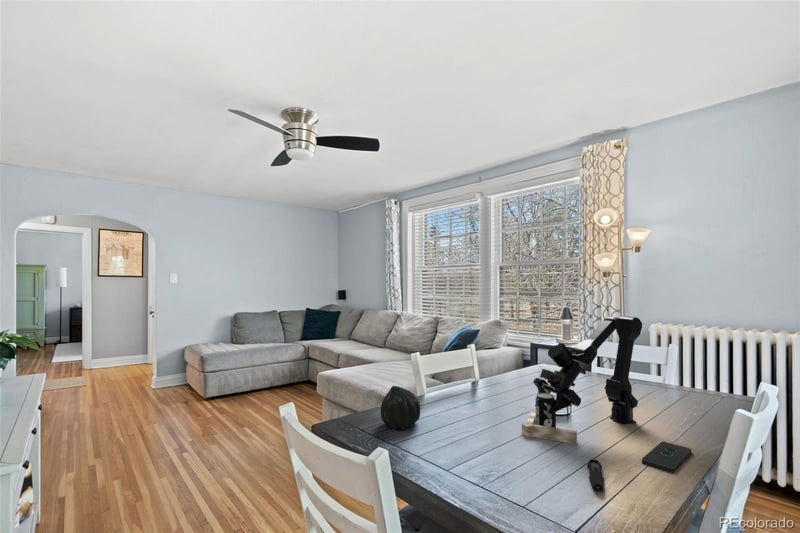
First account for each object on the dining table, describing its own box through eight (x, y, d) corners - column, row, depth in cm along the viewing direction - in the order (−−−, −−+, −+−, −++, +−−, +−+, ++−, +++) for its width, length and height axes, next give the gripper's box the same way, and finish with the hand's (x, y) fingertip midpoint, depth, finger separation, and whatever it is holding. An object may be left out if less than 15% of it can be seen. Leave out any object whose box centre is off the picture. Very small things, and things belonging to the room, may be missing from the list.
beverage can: (559, 430, 136) (559, 395, 137) (548, 435, 133) (547, 399, 133) (543, 424, 142) (543, 391, 142) (532, 428, 138) (531, 394, 139)
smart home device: (692, 448, 121) (674, 469, 108) (692, 454, 121) (674, 475, 108) (661, 440, 128) (640, 458, 114) (661, 445, 128) (640, 464, 114)
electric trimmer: (589, 494, 99) (589, 481, 99) (587, 466, 113) (586, 455, 113) (606, 497, 97) (606, 484, 97) (601, 469, 111) (601, 457, 111)
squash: (434, 411, 142) (413, 376, 149) (407, 424, 131) (385, 385, 138) (413, 430, 149) (393, 395, 156) (385, 443, 138) (365, 405, 145)
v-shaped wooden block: (534, 419, 149) (534, 410, 149) (580, 443, 128) (580, 432, 128) (505, 423, 145) (505, 414, 145) (547, 449, 124) (547, 437, 124)
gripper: (536, 355, 148) (512, 388, 144) (573, 366, 130) (547, 403, 127) (554, 375, 150) (530, 407, 147) (592, 387, 133) (567, 425, 129)
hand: (542, 410), depth 137 cm, fingers closed on beverage can, 6 cm apart
